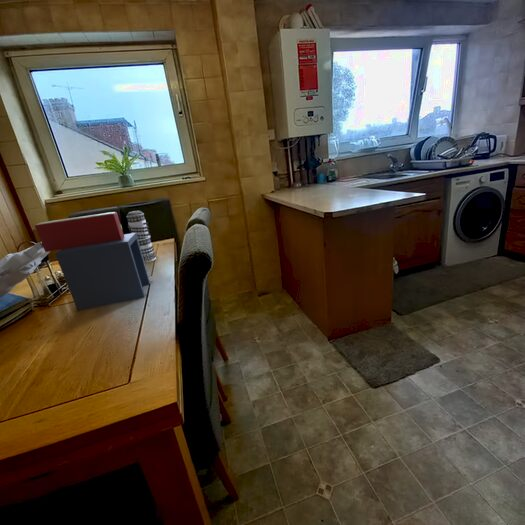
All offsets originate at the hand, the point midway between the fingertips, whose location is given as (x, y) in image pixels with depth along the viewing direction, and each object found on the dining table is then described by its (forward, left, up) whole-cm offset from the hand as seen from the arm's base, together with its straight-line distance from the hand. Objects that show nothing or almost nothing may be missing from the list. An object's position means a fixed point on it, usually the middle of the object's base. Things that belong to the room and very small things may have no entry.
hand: (48, 240), depth 93 cm
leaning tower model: (+20, +40, -24) cm, 51 cm away
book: (+11, 0, -3) cm, 11 cm away
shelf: (+15, 0, -24) cm, 28 cm away
